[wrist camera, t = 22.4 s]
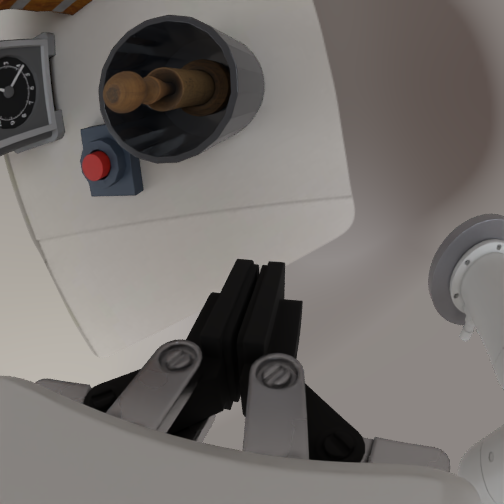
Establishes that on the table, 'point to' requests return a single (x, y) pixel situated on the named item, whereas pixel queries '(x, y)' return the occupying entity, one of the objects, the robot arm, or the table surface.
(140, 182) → the housing
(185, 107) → the mortar and pestle
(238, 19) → the table surface
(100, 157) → the button
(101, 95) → the grey open cylinder
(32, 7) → the mug
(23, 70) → the alarm clock
